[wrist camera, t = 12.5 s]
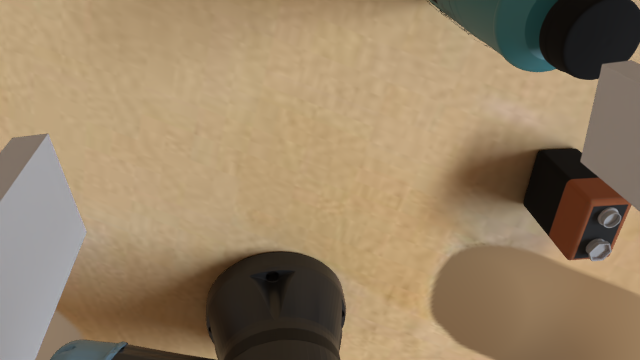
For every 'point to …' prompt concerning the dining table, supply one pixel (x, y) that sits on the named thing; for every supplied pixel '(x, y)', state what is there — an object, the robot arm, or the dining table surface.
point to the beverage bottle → (552, 31)
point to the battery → (574, 205)
